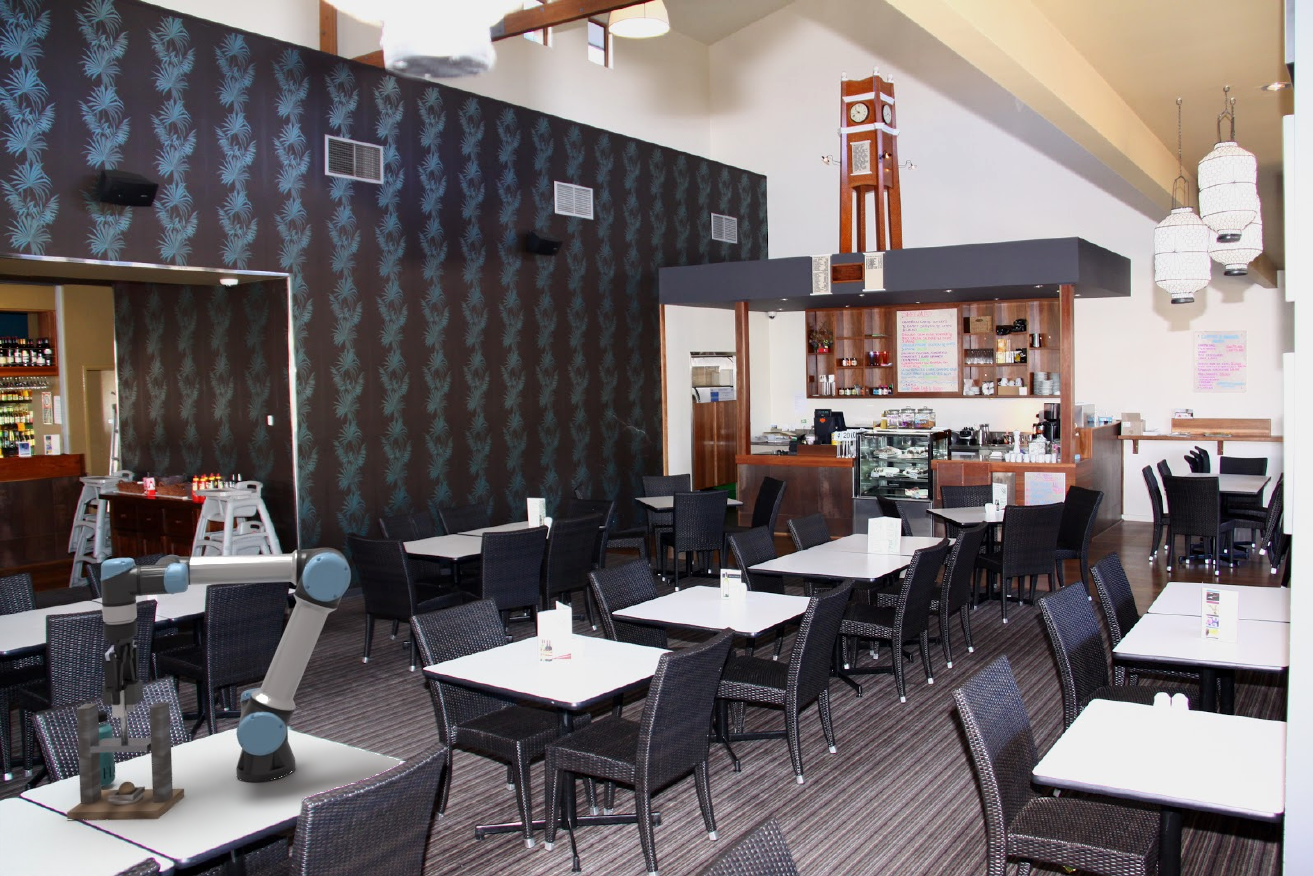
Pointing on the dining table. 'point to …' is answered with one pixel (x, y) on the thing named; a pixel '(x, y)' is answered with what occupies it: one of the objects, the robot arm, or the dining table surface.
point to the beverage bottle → (106, 757)
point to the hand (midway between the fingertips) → (123, 713)
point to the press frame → (110, 801)
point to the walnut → (126, 788)
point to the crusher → (124, 722)
